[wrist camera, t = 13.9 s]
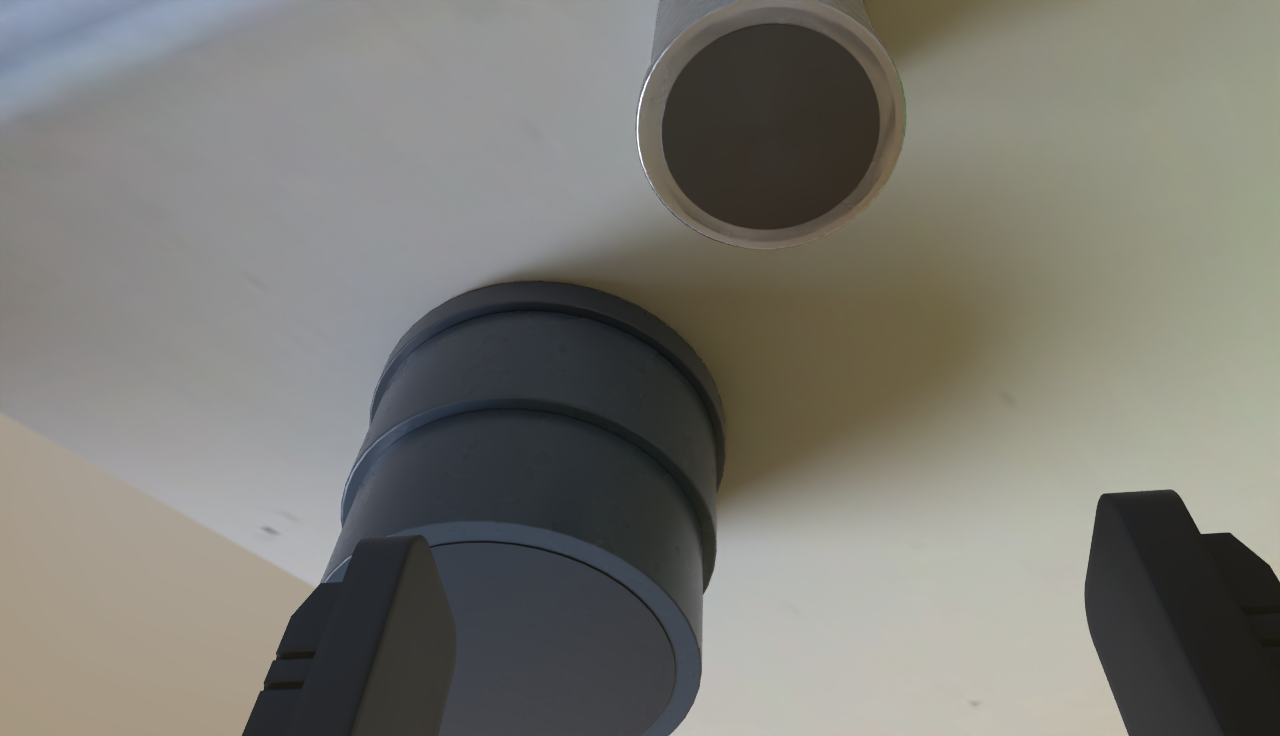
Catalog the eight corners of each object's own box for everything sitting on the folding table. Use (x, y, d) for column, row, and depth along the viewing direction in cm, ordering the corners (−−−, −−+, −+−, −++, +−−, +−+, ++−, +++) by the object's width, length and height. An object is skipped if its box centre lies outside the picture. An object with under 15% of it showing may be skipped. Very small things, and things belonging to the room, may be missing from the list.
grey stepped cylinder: (427, 561, 41) (354, 799, 33) (333, 297, 34) (212, 515, 26) (738, 544, 39) (745, 789, 31) (707, 264, 32) (705, 484, 24)
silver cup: (664, 138, 30) (653, 262, 24) (637, -72, 27) (616, 14, 21) (868, 116, 29) (906, 239, 24) (866, -102, 26) (908, -21, 20)
